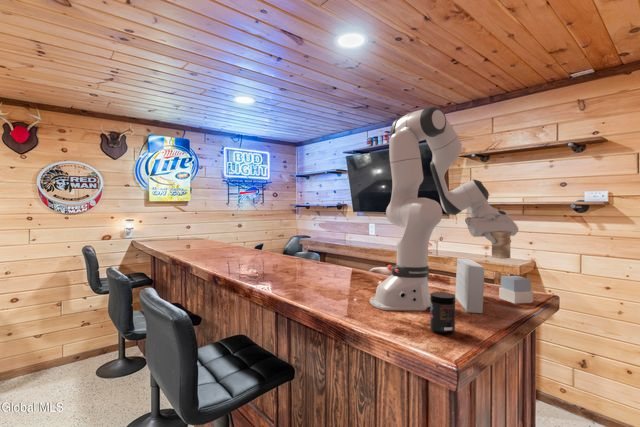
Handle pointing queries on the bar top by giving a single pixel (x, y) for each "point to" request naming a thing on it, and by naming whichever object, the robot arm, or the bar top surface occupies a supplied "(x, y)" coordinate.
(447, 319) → the supplement container
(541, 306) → the bar top surface
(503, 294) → the base block
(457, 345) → the bar top surface
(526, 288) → the top block
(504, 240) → the maple pillar
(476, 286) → the skincare box
